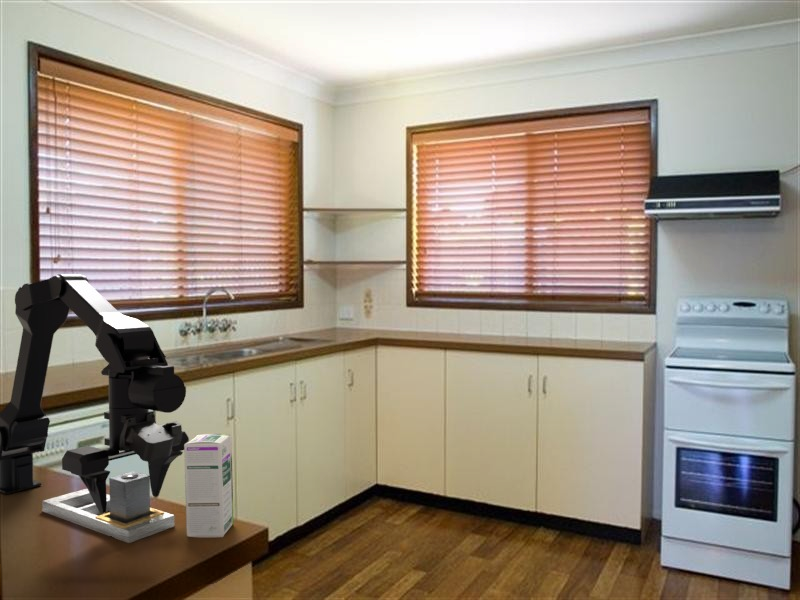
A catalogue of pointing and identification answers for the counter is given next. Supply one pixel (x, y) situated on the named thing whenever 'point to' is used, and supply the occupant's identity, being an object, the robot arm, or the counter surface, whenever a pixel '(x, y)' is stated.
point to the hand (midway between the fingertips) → (130, 504)
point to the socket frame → (105, 517)
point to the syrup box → (208, 485)
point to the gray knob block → (129, 497)
